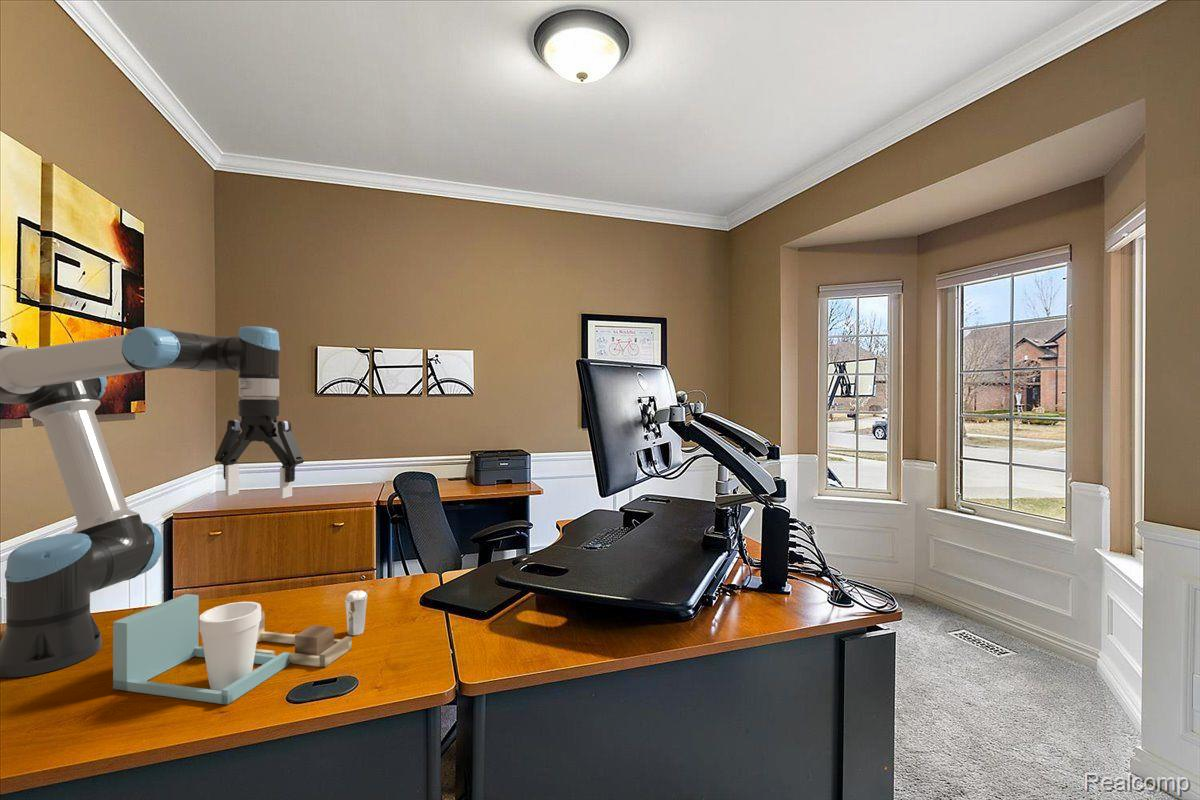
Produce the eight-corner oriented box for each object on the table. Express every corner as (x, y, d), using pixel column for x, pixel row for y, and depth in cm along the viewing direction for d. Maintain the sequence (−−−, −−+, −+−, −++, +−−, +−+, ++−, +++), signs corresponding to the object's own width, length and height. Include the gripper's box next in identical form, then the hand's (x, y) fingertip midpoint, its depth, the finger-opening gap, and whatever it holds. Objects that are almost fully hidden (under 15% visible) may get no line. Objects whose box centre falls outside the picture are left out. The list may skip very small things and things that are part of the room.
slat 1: (219, 654, 109) (220, 625, 109) (252, 637, 116) (252, 609, 116) (271, 660, 106) (271, 630, 106) (301, 642, 114) (301, 614, 114)
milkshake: (361, 638, 117) (362, 592, 117) (340, 636, 118) (340, 590, 118) (374, 629, 121) (375, 585, 121) (353, 627, 122) (353, 583, 122)
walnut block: (294, 660, 107) (294, 635, 107) (312, 648, 112) (312, 625, 112) (316, 663, 106) (316, 637, 106) (333, 651, 111) (334, 627, 111)
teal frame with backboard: (113, 688, 96) (113, 621, 96) (186, 652, 109) (186, 593, 109) (227, 704, 91) (227, 634, 91) (289, 664, 105) (289, 603, 105)
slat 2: (280, 662, 106) (280, 649, 106) (309, 643, 114) (309, 632, 114) (325, 667, 104) (325, 655, 104) (351, 648, 112) (351, 636, 112)
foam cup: (188, 687, 97) (188, 615, 97) (242, 664, 105) (242, 598, 105) (217, 701, 92) (217, 626, 92) (271, 676, 101) (271, 607, 101)
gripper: (195, 397, 115) (194, 496, 116) (296, 399, 111) (296, 501, 111) (225, 397, 123) (225, 490, 123) (321, 398, 118) (321, 495, 118)
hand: (258, 495), depth 117 cm, fingers open, 13 cm apart
